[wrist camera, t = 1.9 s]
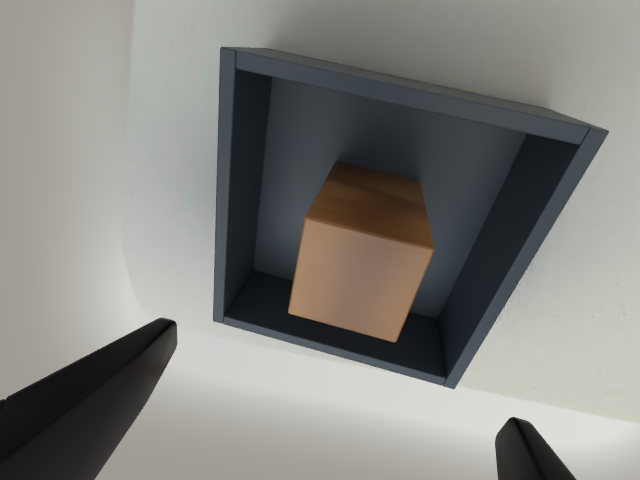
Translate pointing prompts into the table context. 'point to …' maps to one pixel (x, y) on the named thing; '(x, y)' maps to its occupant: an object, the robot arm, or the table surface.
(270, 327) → the bin
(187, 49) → the table surface
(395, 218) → the block
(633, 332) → the table surface
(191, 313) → the table surface
